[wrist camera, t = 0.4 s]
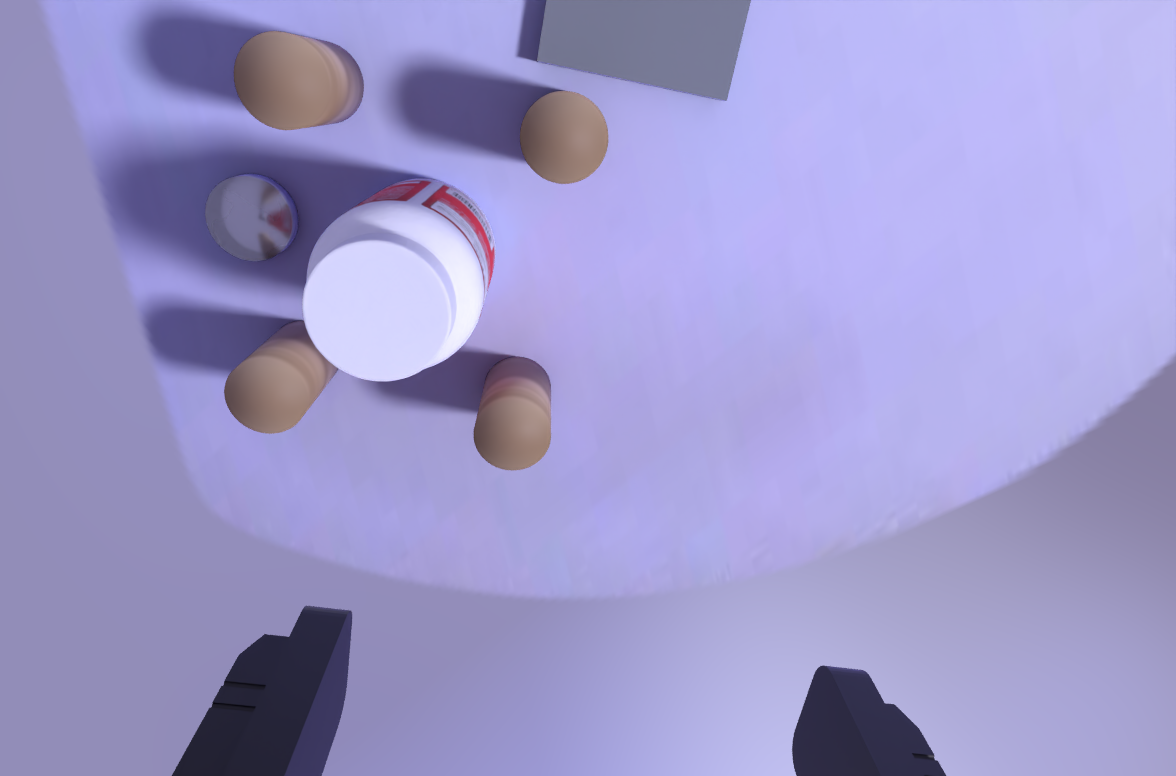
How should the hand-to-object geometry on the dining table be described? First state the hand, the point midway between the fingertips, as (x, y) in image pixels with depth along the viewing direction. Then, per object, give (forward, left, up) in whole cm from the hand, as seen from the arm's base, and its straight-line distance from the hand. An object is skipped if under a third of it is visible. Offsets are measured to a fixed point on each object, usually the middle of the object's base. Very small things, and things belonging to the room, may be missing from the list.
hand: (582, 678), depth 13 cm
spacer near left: (-8, -11, -24) cm, 28 cm away
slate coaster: (-14, +1, -24) cm, 28 cm away
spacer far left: (+4, -11, -24) cm, 27 cm away
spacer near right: (-8, -1, -24) cm, 26 cm away
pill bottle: (-2, -6, -25) cm, 25 cm away
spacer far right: (+4, -1, -24) cm, 25 cm away
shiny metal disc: (-2, -14, -25) cm, 28 cm away
